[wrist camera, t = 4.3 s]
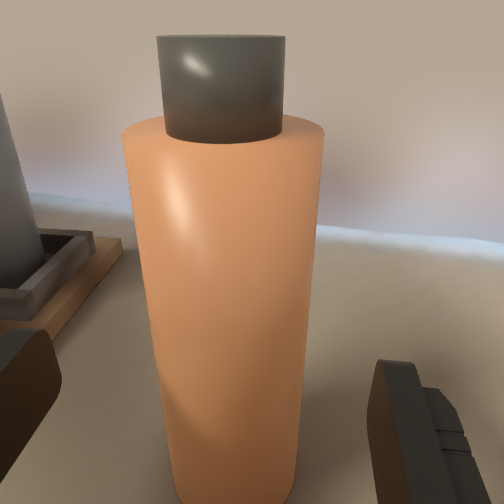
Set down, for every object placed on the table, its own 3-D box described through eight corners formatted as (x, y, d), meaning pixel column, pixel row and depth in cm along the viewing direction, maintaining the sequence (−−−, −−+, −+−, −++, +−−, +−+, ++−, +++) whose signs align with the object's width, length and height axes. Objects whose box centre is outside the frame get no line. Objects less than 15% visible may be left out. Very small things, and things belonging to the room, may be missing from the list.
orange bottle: (293, 537, 14) (340, 41, 7) (156, 520, 14) (61, 39, 7) (296, 419, 18) (327, 34, 11) (190, 409, 19) (151, 33, 11)
